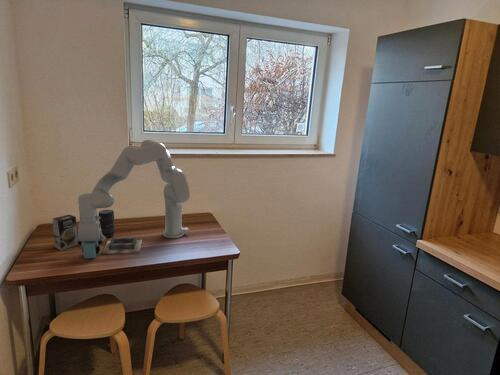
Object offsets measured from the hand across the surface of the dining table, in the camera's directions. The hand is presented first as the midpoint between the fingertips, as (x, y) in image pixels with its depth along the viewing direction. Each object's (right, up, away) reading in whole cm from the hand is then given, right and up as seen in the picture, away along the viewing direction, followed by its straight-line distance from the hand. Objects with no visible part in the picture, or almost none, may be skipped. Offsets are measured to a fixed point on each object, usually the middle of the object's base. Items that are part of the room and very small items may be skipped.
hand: (91, 252), depth 166 cm
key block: (0, -1, 0) cm, 1 cm away
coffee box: (-18, +1, +9) cm, 20 cm away
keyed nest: (+12, 0, +12) cm, 16 cm away
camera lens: (-2, +4, +25) cm, 25 cm away
